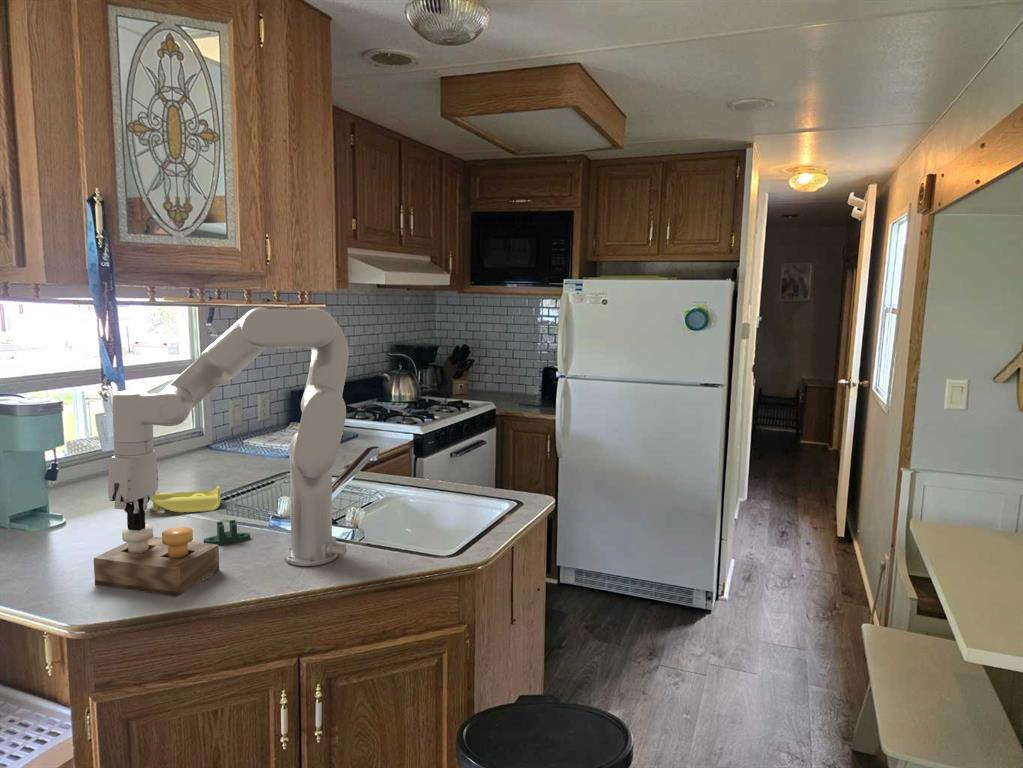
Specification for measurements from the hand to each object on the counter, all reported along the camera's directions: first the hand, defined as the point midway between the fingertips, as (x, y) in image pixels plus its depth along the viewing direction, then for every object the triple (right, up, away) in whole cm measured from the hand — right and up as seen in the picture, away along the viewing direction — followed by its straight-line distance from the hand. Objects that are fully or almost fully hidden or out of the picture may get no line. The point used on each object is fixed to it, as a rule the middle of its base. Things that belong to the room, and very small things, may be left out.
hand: (136, 528), depth 148 cm
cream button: (0, -6, +1) cm, 6 cm away
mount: (+10, -8, +23) cm, 26 cm away
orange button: (+10, -6, -1) cm, 12 cm away
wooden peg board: (+5, -11, +1) cm, 12 cm away
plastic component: (-13, -4, +46) cm, 48 cm away
